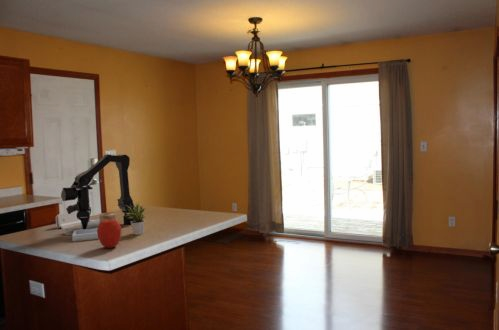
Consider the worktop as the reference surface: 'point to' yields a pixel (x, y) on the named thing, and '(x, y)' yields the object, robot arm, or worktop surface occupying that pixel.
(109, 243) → the red jar
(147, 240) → the worktop surface
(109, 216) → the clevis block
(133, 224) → the house plant
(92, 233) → the tray
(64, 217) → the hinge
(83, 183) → the robot arm
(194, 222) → the worktop surface
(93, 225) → the beige and orange bar
